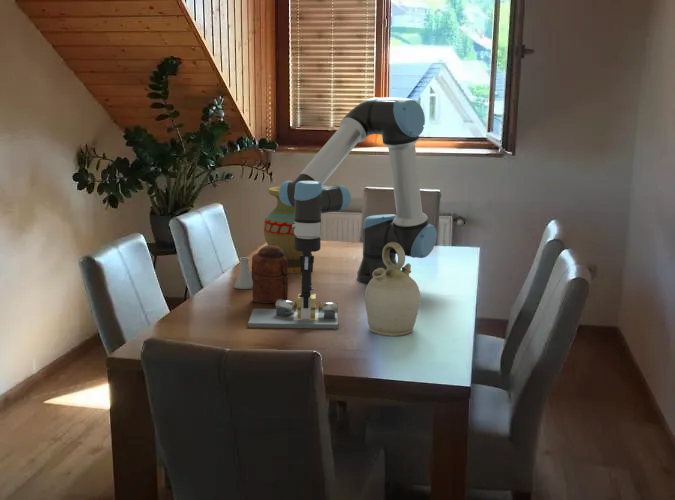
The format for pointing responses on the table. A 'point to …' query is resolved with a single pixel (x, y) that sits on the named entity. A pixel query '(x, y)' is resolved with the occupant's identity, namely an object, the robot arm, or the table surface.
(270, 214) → the vase
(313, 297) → the block
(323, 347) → the table surface
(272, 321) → the base plate
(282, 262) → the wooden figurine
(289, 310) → the shaft
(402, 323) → the jug
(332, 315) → the shaft
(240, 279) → the flask
